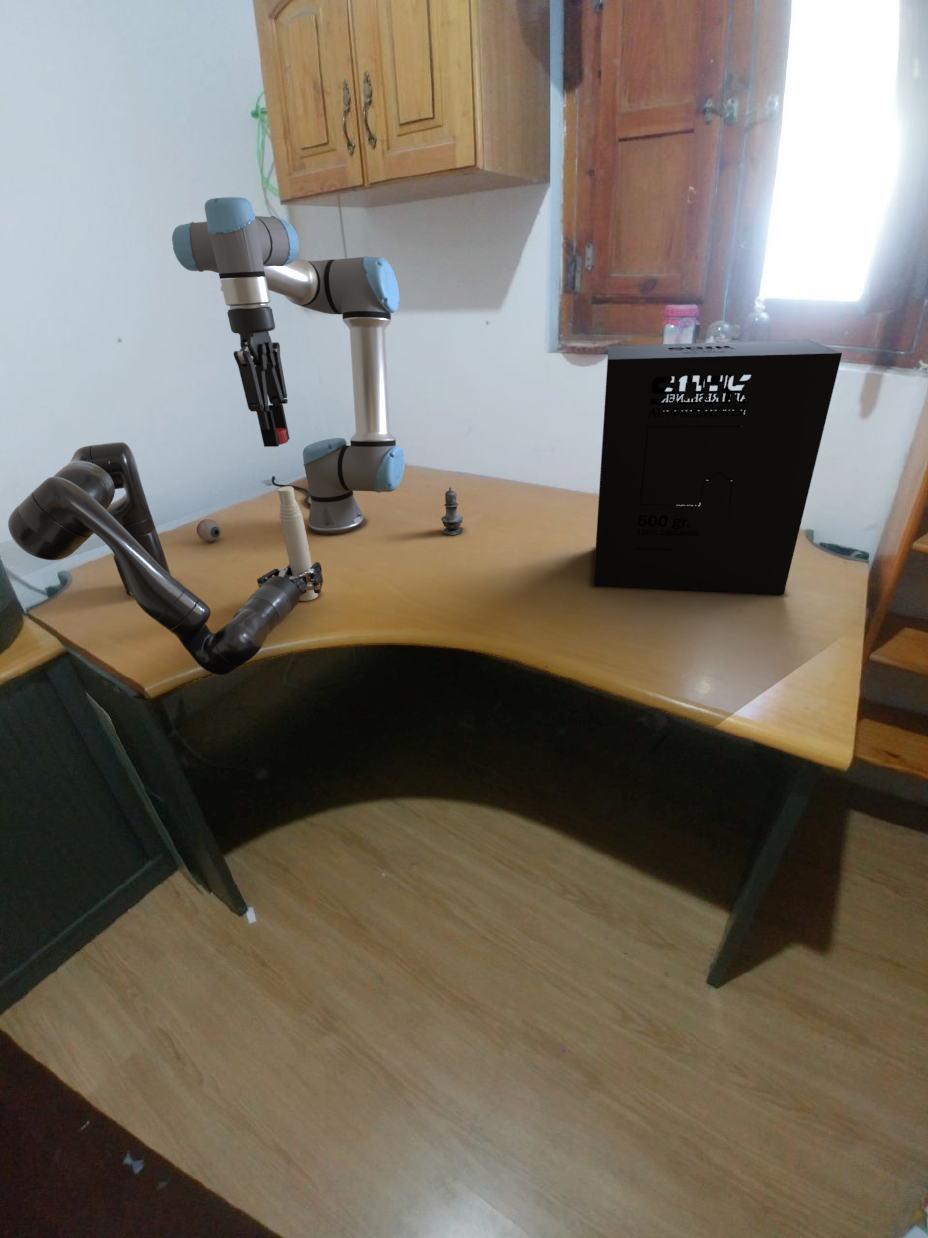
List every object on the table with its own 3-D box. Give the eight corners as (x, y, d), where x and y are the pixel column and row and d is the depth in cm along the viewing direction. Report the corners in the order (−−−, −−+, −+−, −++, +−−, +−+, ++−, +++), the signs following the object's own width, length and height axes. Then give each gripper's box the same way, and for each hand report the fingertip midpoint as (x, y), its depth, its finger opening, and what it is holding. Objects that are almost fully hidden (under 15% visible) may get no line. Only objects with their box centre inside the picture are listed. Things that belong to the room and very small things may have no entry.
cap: (262, 445, 114) (259, 433, 113) (270, 440, 118) (267, 427, 117) (284, 444, 114) (281, 432, 113) (291, 439, 118) (289, 427, 116)
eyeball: (210, 546, 160) (204, 525, 157) (195, 542, 163) (189, 521, 160) (228, 538, 164) (223, 518, 161) (213, 535, 167) (208, 514, 164)
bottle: (307, 589, 135) (286, 483, 123) (322, 594, 133) (301, 486, 121) (292, 598, 132) (269, 490, 120) (307, 602, 130) (285, 493, 118)
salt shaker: (461, 535, 158) (459, 491, 152) (439, 534, 159) (436, 490, 153) (465, 527, 163) (463, 483, 157) (444, 526, 164) (441, 483, 158)
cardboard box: (762, 553, 139) (808, 339, 116) (783, 594, 122) (842, 352, 99) (595, 547, 147) (608, 345, 124) (593, 585, 129) (608, 359, 107)
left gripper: (302, 587, 114) (335, 550, 129) (234, 584, 117) (273, 548, 131) (309, 621, 118) (341, 582, 132) (243, 617, 120) (280, 579, 135)
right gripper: (251, 304, 112) (278, 432, 124) (202, 311, 98) (237, 455, 109) (289, 302, 111) (312, 431, 123) (245, 308, 96) (276, 454, 108)
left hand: (307, 565), depth 132 cm, fingers closed on bottle, 4 cm apart
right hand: (277, 442), depth 116 cm, fingers closed on cap, 4 cm apart
